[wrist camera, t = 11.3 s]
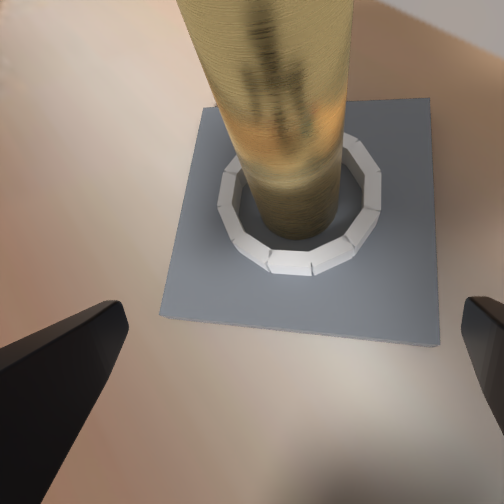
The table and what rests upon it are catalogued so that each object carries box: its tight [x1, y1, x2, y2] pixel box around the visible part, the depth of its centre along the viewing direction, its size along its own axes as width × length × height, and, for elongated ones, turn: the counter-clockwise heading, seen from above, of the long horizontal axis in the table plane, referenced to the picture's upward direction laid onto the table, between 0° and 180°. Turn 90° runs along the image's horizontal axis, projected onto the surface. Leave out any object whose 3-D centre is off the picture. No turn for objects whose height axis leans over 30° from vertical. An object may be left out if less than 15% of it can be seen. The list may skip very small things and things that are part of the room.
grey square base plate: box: [159, 98, 440, 347], centre depth 19 cm, size 14×14×3 cm
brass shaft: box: [176, 0, 354, 240], centre depth 13 cm, size 4×4×13 cm
